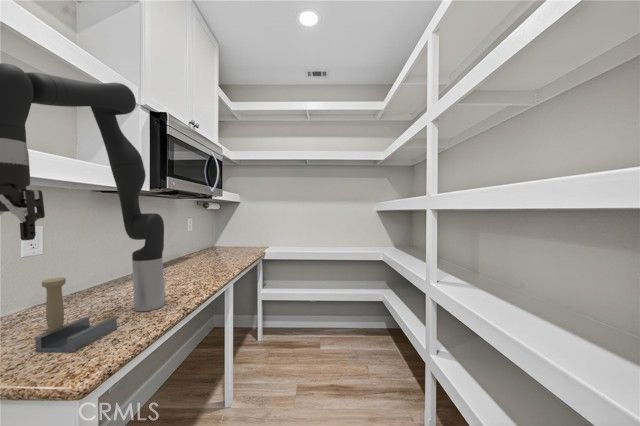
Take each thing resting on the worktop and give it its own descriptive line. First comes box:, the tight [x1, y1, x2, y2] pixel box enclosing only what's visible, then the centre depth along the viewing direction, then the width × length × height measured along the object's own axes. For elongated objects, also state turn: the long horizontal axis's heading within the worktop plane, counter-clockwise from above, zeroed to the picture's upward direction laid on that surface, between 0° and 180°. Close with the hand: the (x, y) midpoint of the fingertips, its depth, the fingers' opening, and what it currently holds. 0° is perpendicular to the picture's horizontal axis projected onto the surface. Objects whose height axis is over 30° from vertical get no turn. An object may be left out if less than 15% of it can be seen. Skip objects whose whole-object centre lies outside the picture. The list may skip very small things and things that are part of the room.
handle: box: [41, 276, 67, 333], centre depth 86 cm, size 5×6×15 cm
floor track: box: [34, 316, 118, 353], centre depth 80 cm, size 14×10×4 cm
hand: (8, 240), depth 63 cm, fingers open, 8 cm apart
